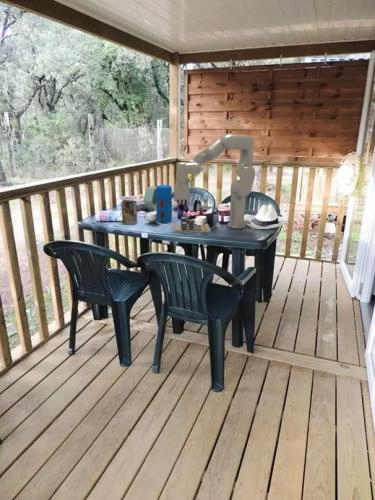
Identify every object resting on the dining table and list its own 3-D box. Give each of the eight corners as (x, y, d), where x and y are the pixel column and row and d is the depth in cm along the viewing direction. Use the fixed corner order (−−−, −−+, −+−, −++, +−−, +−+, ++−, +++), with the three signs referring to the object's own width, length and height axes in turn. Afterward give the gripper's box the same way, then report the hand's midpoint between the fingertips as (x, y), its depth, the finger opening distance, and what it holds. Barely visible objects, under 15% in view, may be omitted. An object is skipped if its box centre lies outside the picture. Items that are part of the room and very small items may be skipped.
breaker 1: (185, 223, 243) (185, 217, 241) (185, 224, 240) (185, 218, 239) (181, 223, 242) (181, 217, 241) (181, 224, 240) (181, 218, 239)
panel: (207, 225, 245) (207, 222, 244) (210, 232, 230) (210, 229, 229) (173, 225, 244) (173, 223, 243) (173, 232, 229) (173, 230, 228)
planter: (157, 214, 287) (149, 196, 272) (149, 213, 291) (140, 195, 275) (166, 200, 295) (159, 181, 280) (159, 199, 299) (150, 180, 284)
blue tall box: (169, 223, 248) (169, 188, 240) (155, 222, 250) (154, 187, 242) (173, 219, 258) (173, 185, 250) (159, 218, 260) (158, 184, 252)
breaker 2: (186, 228, 231) (186, 222, 230) (186, 229, 229) (186, 223, 228) (181, 228, 231) (181, 222, 230) (181, 229, 229) (182, 223, 228)
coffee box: (137, 222, 249) (137, 200, 244) (134, 225, 243) (133, 202, 238) (125, 221, 251) (124, 199, 246) (122, 224, 245) (120, 201, 240)
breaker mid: (193, 225, 237) (193, 219, 236) (193, 226, 235) (193, 220, 234) (188, 225, 237) (188, 219, 236) (189, 226, 235) (189, 220, 233)
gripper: (193, 181, 229) (192, 208, 236) (170, 180, 228) (170, 208, 235) (194, 183, 222) (193, 211, 229) (170, 182, 221) (170, 211, 228)
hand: (181, 209), depth 232 cm, fingers closed
